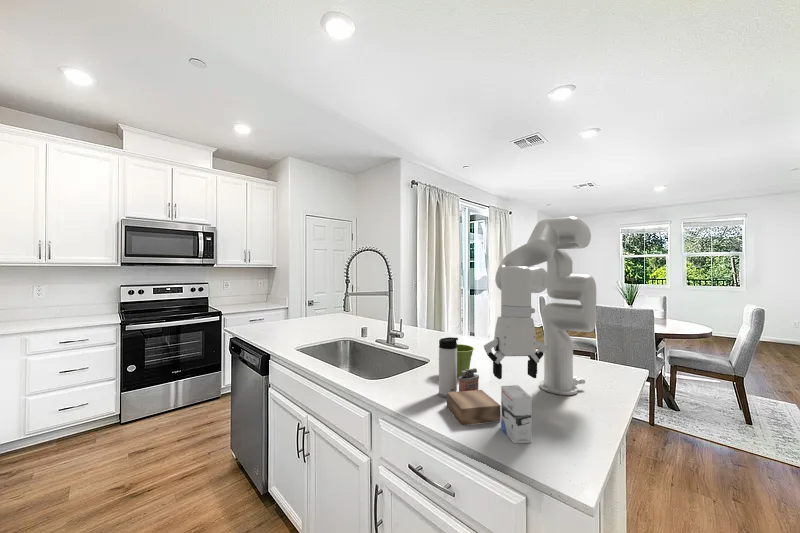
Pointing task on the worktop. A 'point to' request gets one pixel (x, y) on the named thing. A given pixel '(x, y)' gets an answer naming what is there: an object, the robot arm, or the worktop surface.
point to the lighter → (468, 380)
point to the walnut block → (473, 407)
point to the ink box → (516, 413)
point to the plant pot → (463, 358)
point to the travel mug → (447, 366)
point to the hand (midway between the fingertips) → (515, 377)
